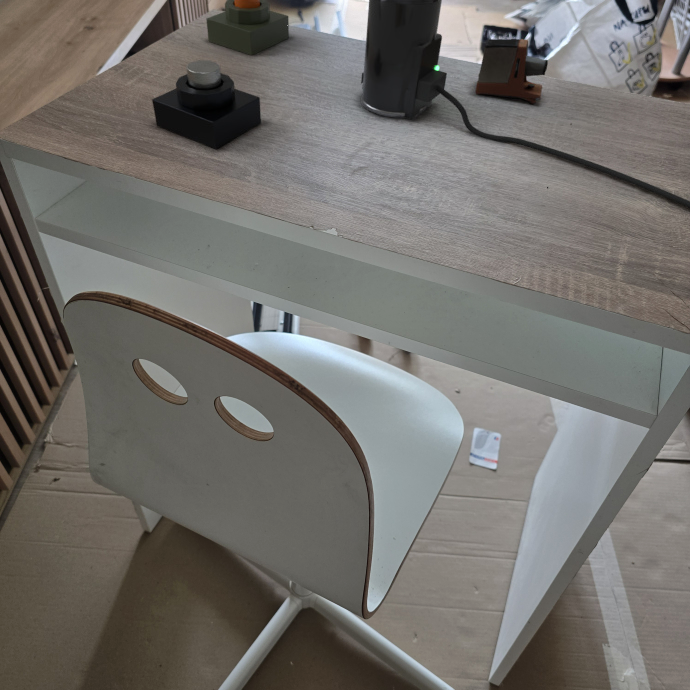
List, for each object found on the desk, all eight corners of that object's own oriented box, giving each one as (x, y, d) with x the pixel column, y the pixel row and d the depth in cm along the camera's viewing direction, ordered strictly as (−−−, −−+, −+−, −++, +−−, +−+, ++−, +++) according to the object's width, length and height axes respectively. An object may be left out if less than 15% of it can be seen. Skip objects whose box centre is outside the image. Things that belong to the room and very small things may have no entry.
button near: (228, 84, 76) (226, 65, 74) (206, 95, 73) (204, 75, 71) (203, 76, 77) (201, 57, 75) (182, 86, 74) (179, 67, 73)
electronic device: (538, 105, 88) (553, 52, 83) (473, 95, 90) (484, 41, 84) (540, 94, 91) (555, 41, 86) (477, 84, 93) (487, 31, 87)
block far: (247, 25, 105) (244, -10, 101) (288, 38, 102) (288, 2, 98) (208, 41, 99) (204, 4, 95) (251, 55, 96) (249, 17, 92)
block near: (261, 123, 80) (259, 81, 76) (216, 149, 74) (211, 106, 70) (203, 102, 83) (198, 61, 79) (156, 125, 78) (149, 83, 74)
